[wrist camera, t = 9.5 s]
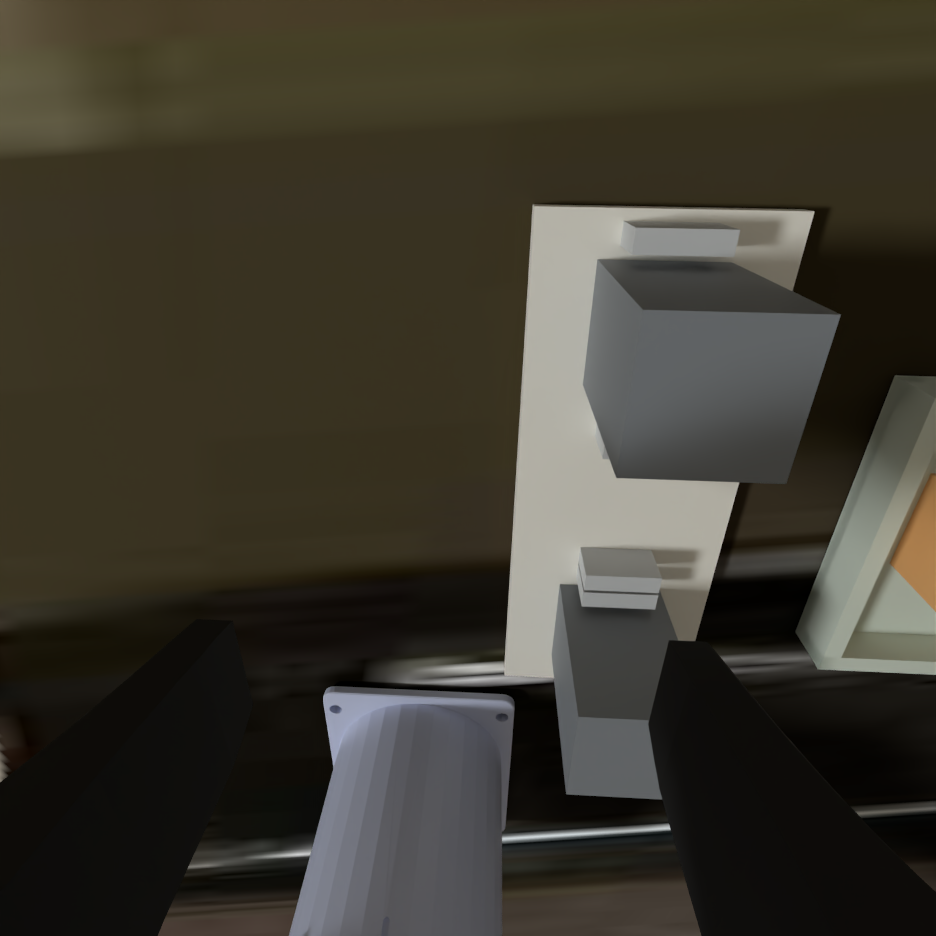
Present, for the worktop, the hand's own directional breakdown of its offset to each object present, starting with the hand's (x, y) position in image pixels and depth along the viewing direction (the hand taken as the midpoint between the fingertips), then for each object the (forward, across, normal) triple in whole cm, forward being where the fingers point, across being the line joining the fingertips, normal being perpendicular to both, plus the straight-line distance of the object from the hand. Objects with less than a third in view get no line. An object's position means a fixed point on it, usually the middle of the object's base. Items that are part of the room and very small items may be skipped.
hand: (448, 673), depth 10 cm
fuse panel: (+10, -5, +2) cm, 11 cm away
